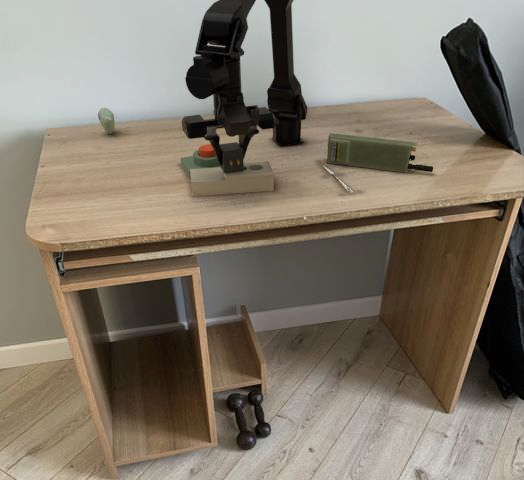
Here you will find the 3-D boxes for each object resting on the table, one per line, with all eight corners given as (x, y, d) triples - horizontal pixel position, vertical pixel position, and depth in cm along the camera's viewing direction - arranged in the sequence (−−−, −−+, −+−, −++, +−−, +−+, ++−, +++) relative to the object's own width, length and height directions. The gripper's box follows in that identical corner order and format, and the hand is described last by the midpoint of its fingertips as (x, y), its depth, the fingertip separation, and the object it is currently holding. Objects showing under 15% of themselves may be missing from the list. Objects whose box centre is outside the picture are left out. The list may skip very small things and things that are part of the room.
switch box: (228, 157, 127) (227, 143, 124) (239, 171, 120) (238, 156, 118) (181, 164, 124) (179, 150, 121) (189, 178, 117) (188, 164, 115)
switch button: (215, 150, 122) (214, 143, 121) (220, 157, 119) (219, 149, 118) (197, 153, 121) (196, 145, 120) (202, 159, 118) (201, 152, 117)
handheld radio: (329, 158, 126) (432, 171, 119) (325, 164, 123) (431, 177, 117) (331, 131, 121) (438, 143, 114) (327, 136, 119) (437, 148, 112)
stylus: (327, 156, 124) (359, 188, 111) (326, 160, 125) (359, 192, 111) (311, 159, 124) (342, 191, 110) (311, 163, 124) (342, 195, 111)
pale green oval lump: (117, 137, 138) (112, 111, 133) (102, 139, 137) (96, 113, 133) (116, 128, 144) (111, 102, 139) (101, 129, 143) (96, 104, 139)
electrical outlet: (189, 165, 113) (269, 160, 115) (191, 182, 116) (269, 177, 118) (190, 178, 108) (274, 172, 110) (192, 196, 111) (273, 190, 112)
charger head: (237, 162, 113) (237, 141, 110) (245, 172, 109) (244, 151, 106) (218, 165, 112) (217, 144, 109) (226, 175, 108) (224, 153, 105)
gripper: (190, 102, 92) (198, 184, 103) (285, 91, 97) (284, 171, 107) (177, 86, 100) (185, 164, 111) (266, 76, 105) (266, 152, 115)
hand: (230, 163), depth 111 cm, fingers closed on charger head, 4 cm apart
